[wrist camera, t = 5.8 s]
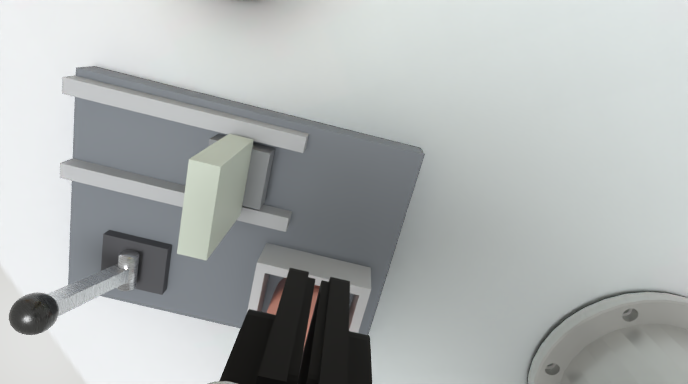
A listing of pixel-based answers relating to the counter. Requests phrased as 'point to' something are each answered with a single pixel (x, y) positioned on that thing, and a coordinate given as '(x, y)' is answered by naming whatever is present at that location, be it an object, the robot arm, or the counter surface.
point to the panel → (252, 225)
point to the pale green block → (221, 191)
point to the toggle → (72, 295)
